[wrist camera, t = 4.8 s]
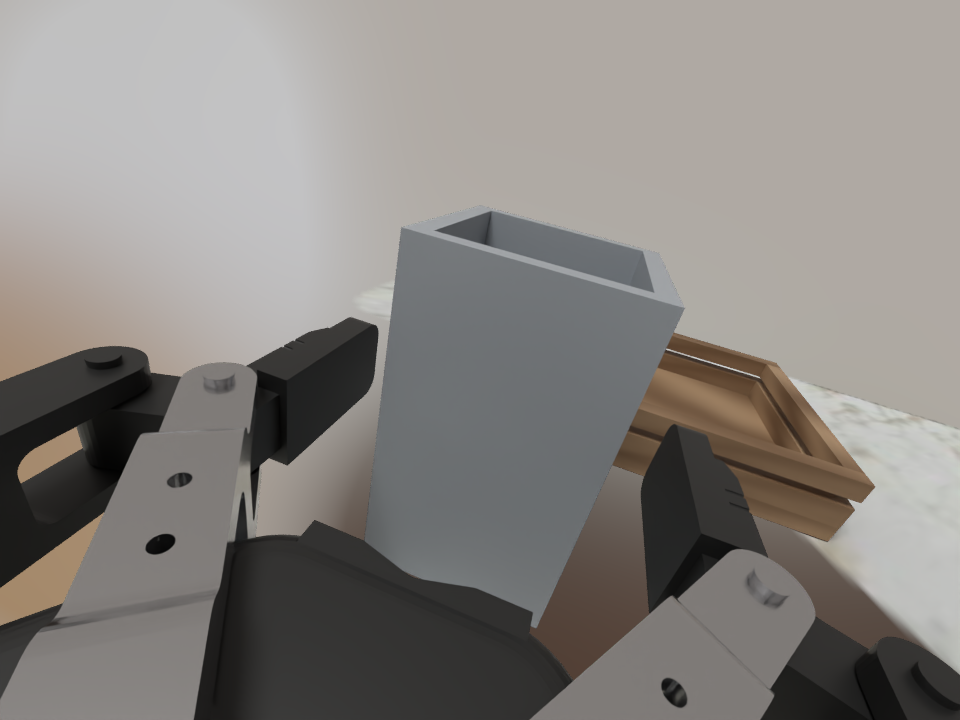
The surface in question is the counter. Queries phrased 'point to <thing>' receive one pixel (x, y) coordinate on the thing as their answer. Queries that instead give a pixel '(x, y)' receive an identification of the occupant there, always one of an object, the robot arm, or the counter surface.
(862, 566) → the counter surface
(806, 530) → the tray
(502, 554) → the gray square holder
